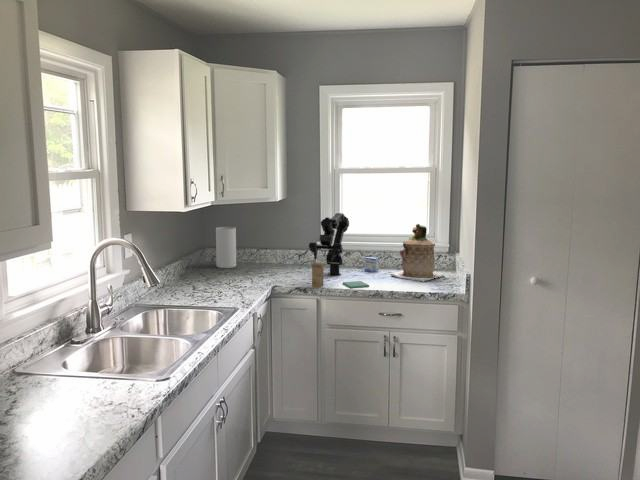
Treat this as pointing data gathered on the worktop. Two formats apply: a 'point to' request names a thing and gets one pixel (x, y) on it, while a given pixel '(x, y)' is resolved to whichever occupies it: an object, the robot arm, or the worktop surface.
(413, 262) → the cookie jar
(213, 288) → the worktop surface
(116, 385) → the worktop surface
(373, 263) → the medicine box
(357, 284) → the green mat
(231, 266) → the cylinder vase
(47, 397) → the worktop surface
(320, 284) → the walnut block
